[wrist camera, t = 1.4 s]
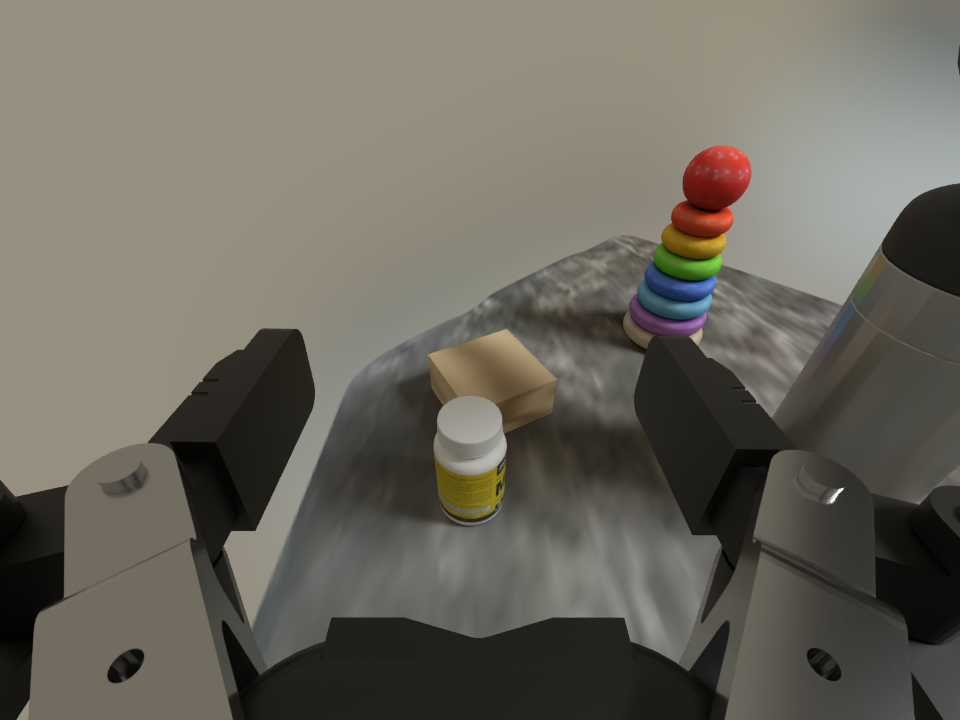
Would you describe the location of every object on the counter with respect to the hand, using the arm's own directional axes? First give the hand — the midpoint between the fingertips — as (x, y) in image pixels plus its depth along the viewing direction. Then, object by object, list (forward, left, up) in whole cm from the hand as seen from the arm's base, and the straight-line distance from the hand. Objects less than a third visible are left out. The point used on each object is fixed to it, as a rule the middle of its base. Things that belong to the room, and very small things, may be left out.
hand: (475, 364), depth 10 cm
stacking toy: (-31, -17, -21) cm, 42 cm away
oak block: (-10, -17, -21) cm, 29 cm away
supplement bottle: (-4, -9, -21) cm, 24 cm away
